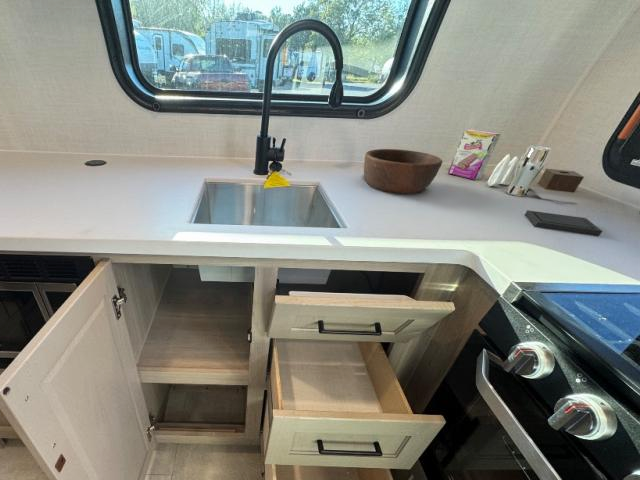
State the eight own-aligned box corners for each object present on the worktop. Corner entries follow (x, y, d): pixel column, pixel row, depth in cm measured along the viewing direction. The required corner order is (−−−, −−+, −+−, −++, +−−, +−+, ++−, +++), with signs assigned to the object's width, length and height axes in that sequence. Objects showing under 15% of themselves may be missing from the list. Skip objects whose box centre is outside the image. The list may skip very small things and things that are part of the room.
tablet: (582, 223, 90) (586, 218, 89) (598, 236, 82) (602, 231, 82) (524, 214, 94) (527, 210, 93) (534, 227, 87) (537, 221, 86)
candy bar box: (446, 174, 132) (464, 130, 122) (452, 172, 134) (470, 129, 124) (474, 180, 124) (495, 134, 114) (480, 179, 126) (501, 133, 117)
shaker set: (493, 189, 115) (509, 156, 109) (482, 186, 118) (496, 154, 112) (510, 185, 120) (527, 153, 114) (499, 182, 123) (514, 151, 117)
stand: (561, 191, 115) (574, 171, 111) (570, 197, 109) (584, 176, 105) (535, 188, 118) (546, 168, 113) (542, 194, 111) (554, 173, 107)
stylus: (621, 142, 81) (666, 76, 73) (624, 143, 80) (670, 76, 72) (613, 141, 82) (657, 76, 74) (616, 142, 81) (661, 76, 72)
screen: (580, 220, 89) (581, 218, 89) (592, 230, 83) (594, 228, 83) (532, 214, 92) (534, 212, 92) (541, 223, 87) (542, 221, 86)
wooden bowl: (411, 177, 127) (420, 149, 120) (445, 197, 106) (458, 165, 100) (350, 176, 126) (356, 148, 120) (373, 196, 106) (382, 164, 99)
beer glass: (503, 189, 115) (526, 144, 106) (527, 193, 112) (552, 147, 103) (503, 194, 111) (527, 147, 102) (527, 198, 107) (554, 150, 98)
